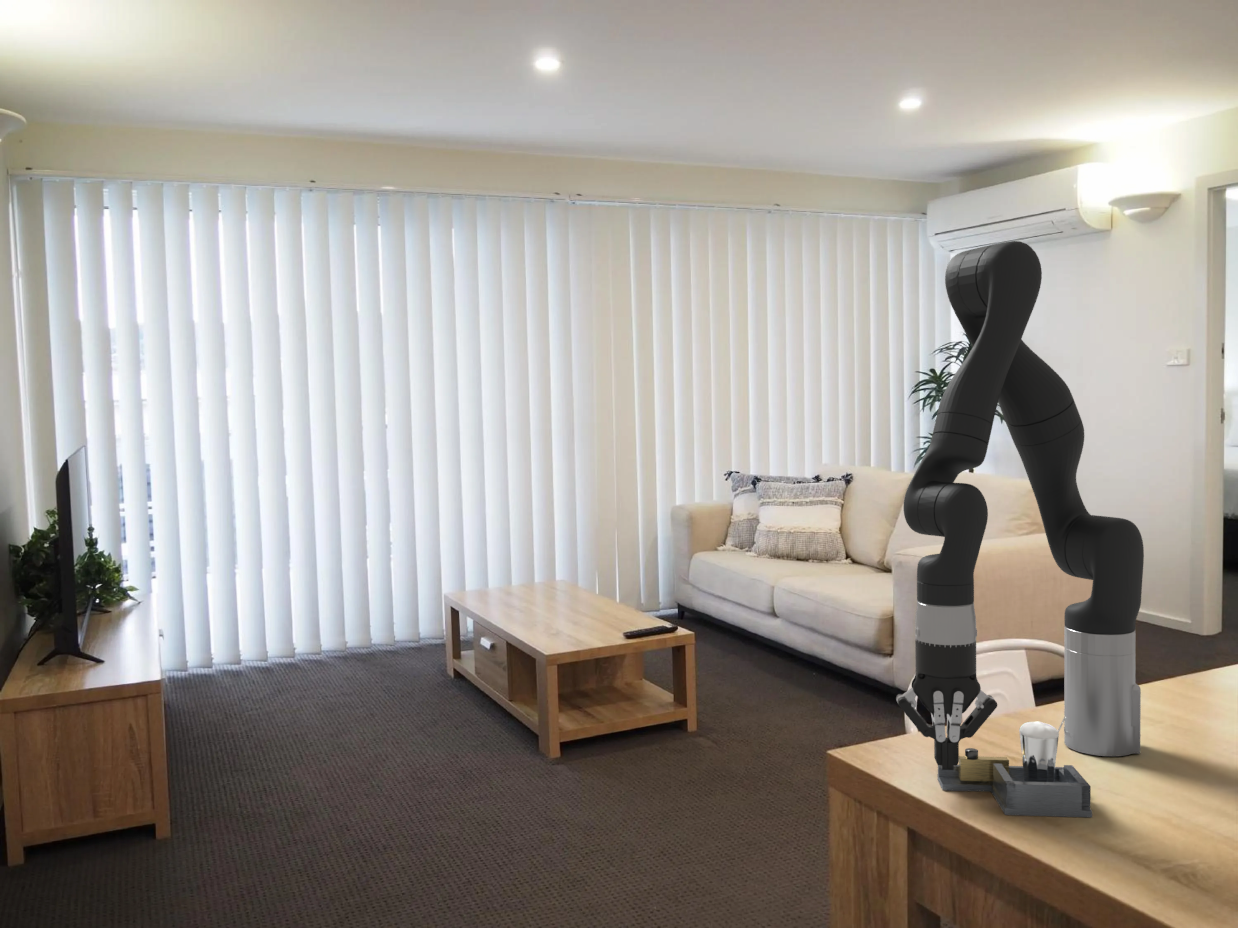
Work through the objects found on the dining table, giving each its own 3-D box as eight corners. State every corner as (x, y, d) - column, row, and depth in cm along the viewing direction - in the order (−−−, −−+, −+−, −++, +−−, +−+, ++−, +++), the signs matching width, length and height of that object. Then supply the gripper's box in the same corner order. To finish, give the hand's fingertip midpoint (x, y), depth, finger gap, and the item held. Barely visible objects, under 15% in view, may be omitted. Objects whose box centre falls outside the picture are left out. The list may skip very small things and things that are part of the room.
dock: (1064, 782, 136) (1064, 754, 135) (1092, 817, 124) (1092, 785, 124) (937, 779, 138) (937, 751, 138) (953, 813, 126) (953, 782, 126)
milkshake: (1069, 803, 127) (1069, 722, 126) (1023, 801, 128) (1023, 720, 127) (1060, 789, 131) (1060, 711, 131) (1016, 787, 132) (1016, 710, 132)
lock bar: (1006, 777, 135) (1006, 748, 135) (1009, 781, 133) (1009, 752, 133) (958, 776, 136) (958, 747, 136) (960, 780, 134) (960, 751, 134)
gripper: (992, 630, 137) (993, 759, 138) (889, 629, 139) (890, 757, 140) (1005, 643, 130) (1005, 779, 131) (896, 642, 132) (897, 776, 132)
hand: (946, 767), depth 135 cm, fingers closed
